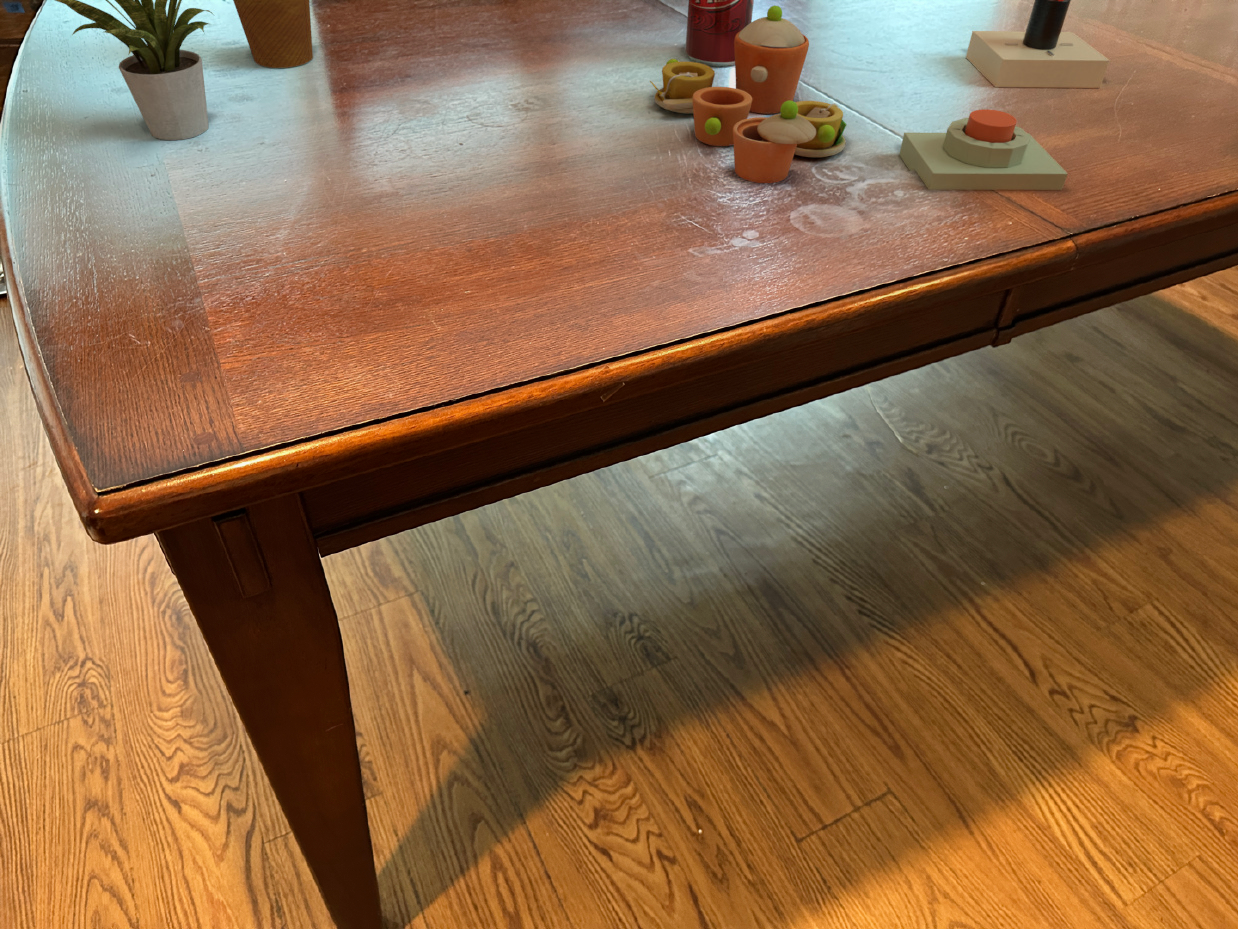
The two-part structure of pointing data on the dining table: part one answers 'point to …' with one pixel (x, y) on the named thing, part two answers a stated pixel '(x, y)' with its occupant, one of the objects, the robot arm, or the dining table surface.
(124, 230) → the dining table surface
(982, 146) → the button housing
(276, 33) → the disposable coffee cup
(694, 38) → the soda can
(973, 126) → the button
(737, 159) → the toy tea set
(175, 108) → the house plant
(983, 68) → the beige slotted block
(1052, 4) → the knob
